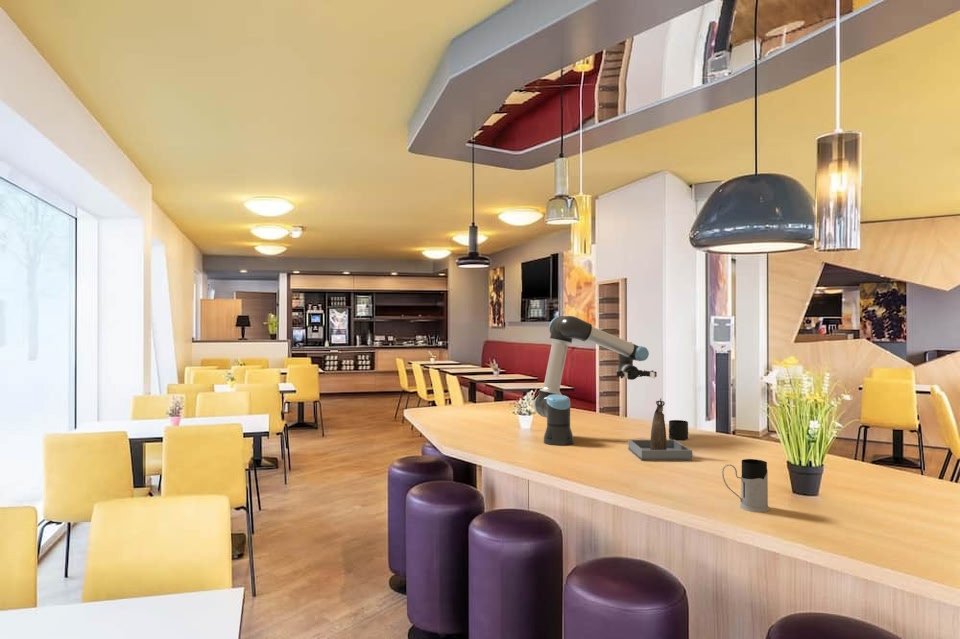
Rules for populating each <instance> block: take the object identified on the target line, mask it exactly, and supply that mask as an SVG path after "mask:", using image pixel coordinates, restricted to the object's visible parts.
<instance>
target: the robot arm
mask: <svg viewBox="0 0 960 639" xmlns="http://www.w3.org/2000/svg"><path fill="white" fill-rule="evenodd" d="M548 331H549V333H550V337H549V340H550V343H551V348H550V352H549V355H548V356H549V357H548V361H547V367H546V373H545V378H544V382H543V387H541V388H540V389H539V391H538V395H537V396H536V397H535V399H534V403H533V407H534V410H535V412H536V413H537V414H538V415H539V416H541V417H543V418H546V428H545V432H544V435H543V443H544V444H546V445H547V444H548V445H552V446H566V445H567V446H568V445H569V446H570V445H573V444H574V443H575V440H574V439H575V438H574V435H573V431H572V429H571V399H570V397H569V396H567V395H564V394H562V393H561V391H560V390H561V384H562V379H563V373H564V368H565V363H566V359H567V353H568V348H569V346H570V345H571V344H572V343H573V339H575V340H580V341H582V342H589V343H592V344H595V345H597V346H600V347H602V348H604V349H608V350H610V351H613V352H614V353H617V354H618V366H617V368H616V370H617V371H616V377H617V378H619V377H620V379H623V378H624V379H627V381H633V380H636V379H637V378H639V377H640V378H642V377H649V378H651V379H655V378H657V376H658V375H657V373H658V372H657V371H654V370H645V369H644V370H642V369H638V367H637V366H635V365H634V363H633V362H634V361H638V362H644V361H646V360H648V358H649V356H650V355H649V354H650V353H649V350H648V348H647V347H645V346H640V345H638V344H635V343H633V342H632V341H628V340H625V339H623V338H620V337H619V336H618V337H617V336H615V335H613V334H611V333H608V332H606V331H603V330H601V329H598V328H597V327H594V326H593V324H592V323H590V322H587V321H585V320H583V319H581V318H579V317H576V316H574V315H559V316H557V317H554V318H552V320H551V321H550V322H549V326H548Z"/></svg>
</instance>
